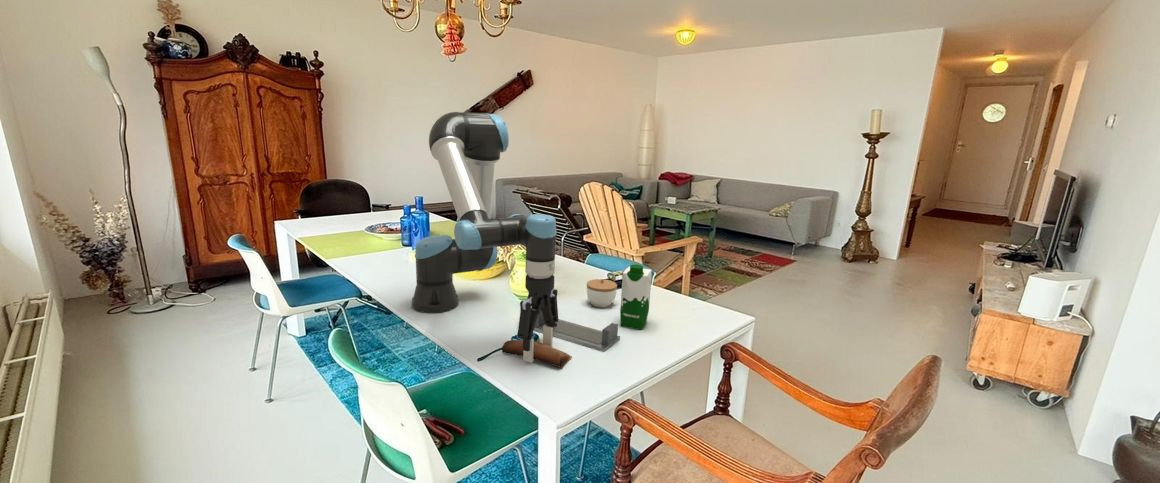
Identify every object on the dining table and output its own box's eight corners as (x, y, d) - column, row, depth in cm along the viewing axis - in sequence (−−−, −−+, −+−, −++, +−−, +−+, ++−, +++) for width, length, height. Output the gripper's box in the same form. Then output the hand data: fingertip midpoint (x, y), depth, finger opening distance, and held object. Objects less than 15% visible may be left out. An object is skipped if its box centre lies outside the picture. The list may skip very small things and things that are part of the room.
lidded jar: (614, 299, 176) (615, 275, 174) (617, 310, 165) (619, 284, 163) (585, 298, 175) (586, 274, 173) (586, 309, 165) (587, 283, 163)
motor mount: (516, 325, 150) (517, 299, 148) (535, 315, 158) (536, 290, 156) (604, 351, 134) (605, 323, 132) (620, 339, 143) (621, 312, 141)
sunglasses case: (574, 355, 131) (569, 340, 127) (564, 377, 126) (558, 362, 122) (517, 341, 138) (510, 327, 133) (505, 361, 133) (498, 347, 129)
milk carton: (616, 327, 152) (620, 266, 147) (623, 317, 160) (627, 259, 155) (644, 331, 149) (649, 270, 144) (649, 321, 157) (654, 262, 153)
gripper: (527, 287, 114) (525, 374, 119) (573, 267, 132) (570, 344, 137) (502, 281, 118) (502, 365, 123) (550, 263, 135) (548, 337, 141)
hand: (538, 354), depth 130 cm, fingers closed on sunglasses case, 8 cm apart
